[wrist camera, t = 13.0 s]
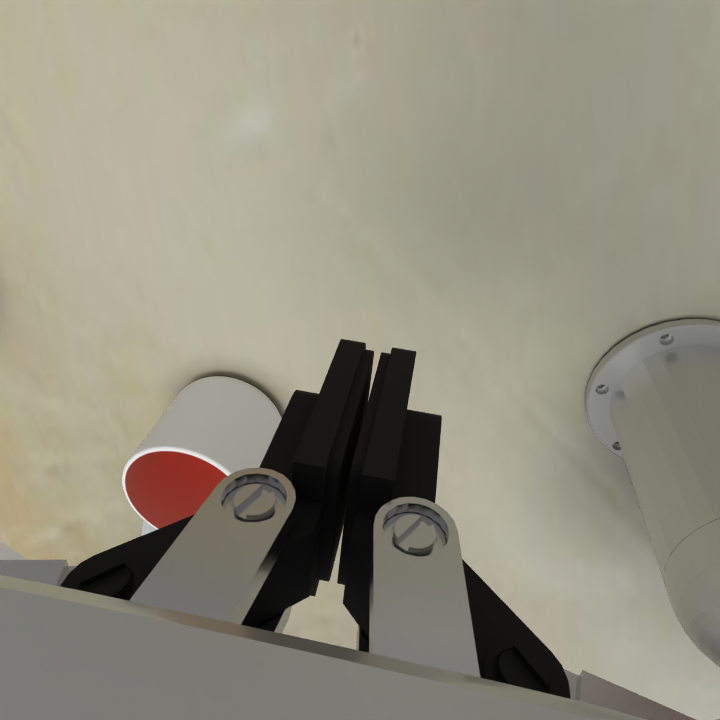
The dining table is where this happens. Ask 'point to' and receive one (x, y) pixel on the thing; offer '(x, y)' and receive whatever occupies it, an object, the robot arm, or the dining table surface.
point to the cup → (198, 447)
